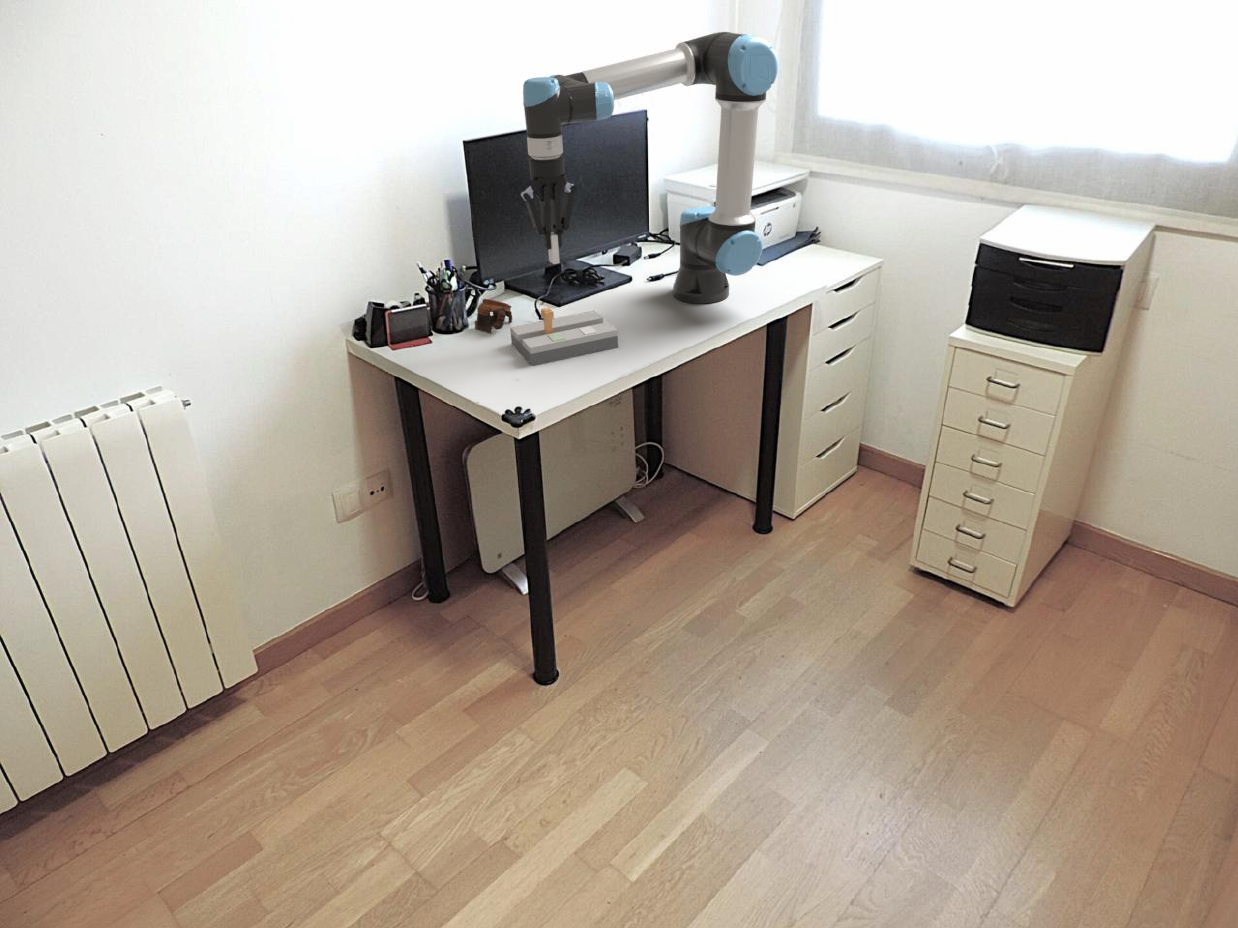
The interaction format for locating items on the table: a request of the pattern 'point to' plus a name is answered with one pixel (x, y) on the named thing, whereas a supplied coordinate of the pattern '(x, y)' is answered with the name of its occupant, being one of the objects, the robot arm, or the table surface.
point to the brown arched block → (496, 319)
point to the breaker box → (564, 338)
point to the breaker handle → (547, 320)
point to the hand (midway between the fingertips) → (554, 261)
